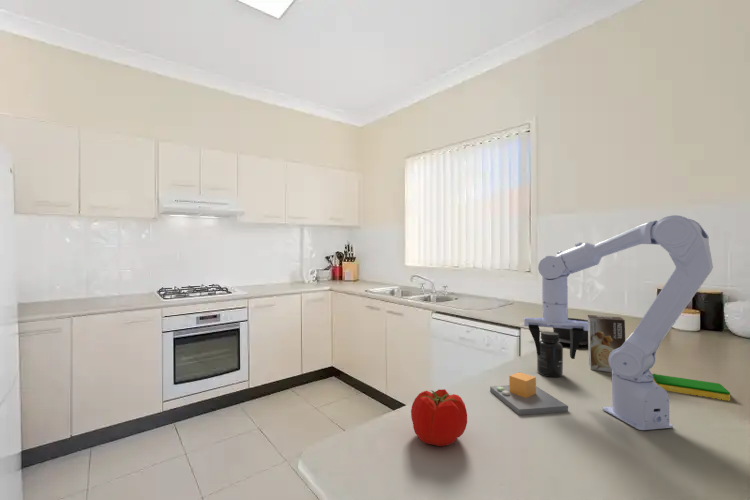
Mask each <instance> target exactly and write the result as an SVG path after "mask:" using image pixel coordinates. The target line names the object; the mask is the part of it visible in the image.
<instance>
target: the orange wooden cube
mask: <svg viewBox="0 0 750 500" xmlns="http://www.w3.org/2000/svg"><path fill="white" fill-rule="evenodd" d="M508 381H509V383H508V384H509V385H510V392H511V393H514V394H517V395H519V396H522V397H525V398H528V397H530V396H532V395H534V394H536V386H537V377H536V376H532V375H531V374H527V373H523V372H519V371H518V372H516V373H513V374H511V375H509V379H508Z"/></svg>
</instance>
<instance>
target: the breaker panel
mask: <svg viewBox="0 0 750 500" xmlns="http://www.w3.org/2000/svg"><path fill="white" fill-rule="evenodd" d="M489 392H490V393H492V394H493V395H495V397H497V398H498V399H499V400H500V401H502V403H504V404H505V405H507V406H508V407H509V408H510V409H511V410H512V411H514V412H515V413H516V414H517V415H518V416H523V415H534V414H535V415H536V414H549V413H551V414H552V413H562V412H563V413H565V412H569V405H567V404H566V403H564V402H562V401H561V400H559V399H558V398H557V397H554V396H553V395H552V394H550V393H549V392H546V390H543V389H542V388H540V387H539V386H537V385H536V394H534V395H532V396H530V397H528V398H525V397H522V396H519V395H517V394H514V393H511V392H510V384H509V385H506V384H505V385H494V386H489Z"/></svg>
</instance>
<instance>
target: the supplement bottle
mask: <svg viewBox="0 0 750 500" xmlns="http://www.w3.org/2000/svg"><path fill="white" fill-rule="evenodd" d="M540 339H541V340H540V355H537V354H536V358H537V360H536V370H537V372H538V373H539V374H540V375H543V376H545V377H552V378H560V377H561V376H563V373H564V351H563V350H564V347H563V345H562V343H561V342H558V341H559V334H558V333H554V331H540Z"/></svg>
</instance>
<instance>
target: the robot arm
mask: <svg viewBox="0 0 750 500" xmlns="http://www.w3.org/2000/svg"><path fill="white" fill-rule="evenodd" d="M709 242H710V239H709V234H708V233H707V232H706V231H705V229H704V228H703V227H702V225H701V224H700V223H699V222H698V221H696V220H693V219H691V218H687V217H685V216H681V215H677V214H676V215H674V214H673V215H672V214H671V215H667V216H664V217H662V218H661V219H659V220H656V219H655V220H653V221H651V220H650V221H648V222H646V223H643V224H640V225H637V226H636V227H632V228H631V229H630V228H629V229H628V230H626V231H623V232H622V233H619V234H617V235H614V236H612V237H610V238H607V239H606V240H603V241H600V242H598V243H596V244H594V243H591V242H577V243H575V245H574V247H571V248H569V249H567V250H564V251H562V250H561V251H560V250H559V251H558V252H557V251H556V255H555V256H554V255H546V256H545V257H543V258H542V259H541V260H540V261H539V263H538V268H537V269H538V273H539V275H541V277H542V280H541V281H542V283H541V284H542V289H541V291H542V293H541V294H542V297H541V298H542V301H541V303H542V317H523V326H524V327H528V330H529V332H530V334H531V337H532V340H533V342H534V344H535V349H536V356H537V355H540V341H541V340H540V339H541V338H540V337H541V330H540V327H541V328H552V329H553V328H565V329H570V344H569V358H571V360H575V357H576V353H577V350H578V347H579V346H580V345H579V343H580V341H581V339H582V338H583V336H584V331H583V330H585V331H589V323H588V322H586V321H575V320H568V318H569V315H568V313H569V311H568V310H569V309H568V308H569V306H568V305H569V304H568V303H569V302H568V299H569V297H568V296H569V295H568V294H569V293H568V292H569V291H568V277H569V276H570V275H571V274H575V273H578V272H580V271H584V270H586V269H589V268H591V267H595V266H598V265H599V264H600V262H601V260H602V258H603V257H606V256H609V255H612V254H614V253H615V254H616V253H618V252H622V251H625V250H627V249H631V248H633V247H637V246H639V245H660V246H661V248H662V249H664V250H665V251H666V252H667V253H668V254H669V257H670V259H671V260H672V262H673V264H674V265H675V269H674V270H673V272H672V273H671V275H670V276H669V278H668V280H667V281H666V283H665V284H664V285H663V287H662V289H661V290H660V292H659V293H658V294H657V296H656V298H655V299H654V300H653V302H652V303H651V305H650V306H649V307H648V310H647V311H646V313H645V314H644V315H643V317H642V319H640V322H639V323H638V325H637V326H636V328H634V330H633V331H632V333H631V334H630V335H629V336H628V338H625V342H624V343H623V345H622V346H621V347H619V348H617V349H615V350H613V351H612V352H611V353H610V355H609V358H608V362H609V365H610V367H611V369H612V372H611V399H612V401H611V406H603V407H602V408H601V409H602V411H604V412H606V413H608V414H610V415H611V416H613V417H615V418H617V419H618V420H620V421H622V422H624V423H626V424H627V425H629V426H632V427H633V428H635V429H636V430H639V431H649V430H661V429H670V428H673V427H674V425H673V424H671V423H670V396H669V393H668V392H667V391H666V390H665V389H664V388H662V387H660V386H659V385H657V384H656V383H655V381H654V380H653V379H654V377H653V375H652V374H653V373H652V372H651V370H650V369H651V368H653V367H654V365H655V364H656V353H657V352H658V350H659V348H660V346H661V343H662V341H664V338H665V337H666V336H667V334H669V331H671V329H672V328H673V327H674V325H675V323H676V322H677V320H678V319H679V318H680V316H681V315H682V314H683V312H684V311H685V310H686V308H687V306H688V305H689V304H690V302H691V301H692V299H693V298H694V297H695V295H696V294H697V292H698V291H699V289H700V288H701V287H702V286H703V284H704V282H705V281H706V280H707V278H708V277H709V275H710V274H711V272H712V271H713V268H714V265H713V259H712V253H711V249H710V243H709Z"/></svg>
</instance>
